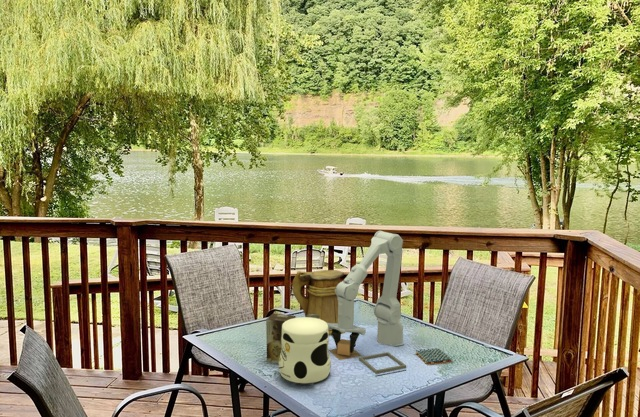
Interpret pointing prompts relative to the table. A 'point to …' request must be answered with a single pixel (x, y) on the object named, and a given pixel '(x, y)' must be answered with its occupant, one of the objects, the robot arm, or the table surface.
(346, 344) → the orange cube
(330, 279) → the tankard
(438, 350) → the woven mat
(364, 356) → the tray
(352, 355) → the post base
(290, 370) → the milk container
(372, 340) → the table surface
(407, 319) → the table surface
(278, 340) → the coffee box
